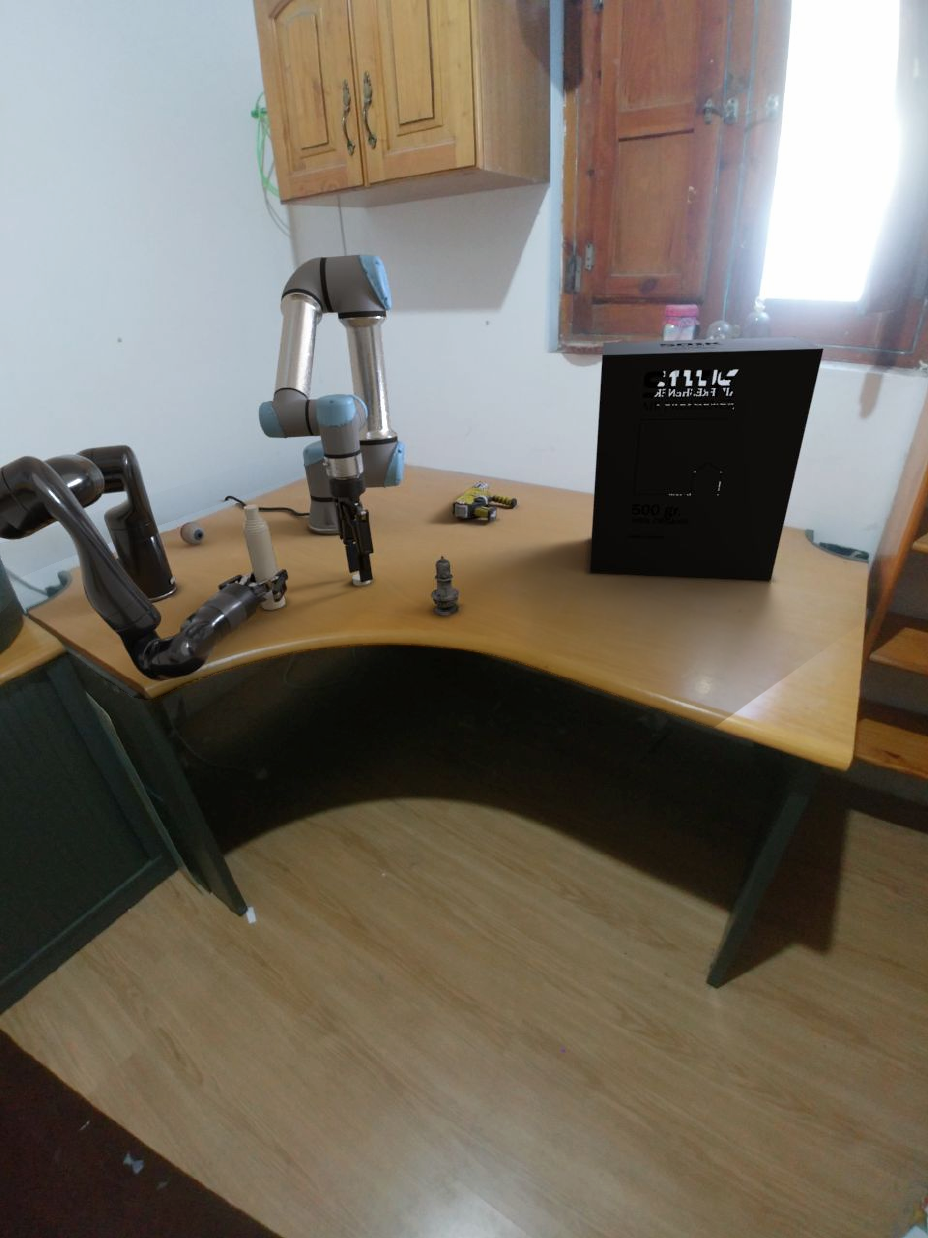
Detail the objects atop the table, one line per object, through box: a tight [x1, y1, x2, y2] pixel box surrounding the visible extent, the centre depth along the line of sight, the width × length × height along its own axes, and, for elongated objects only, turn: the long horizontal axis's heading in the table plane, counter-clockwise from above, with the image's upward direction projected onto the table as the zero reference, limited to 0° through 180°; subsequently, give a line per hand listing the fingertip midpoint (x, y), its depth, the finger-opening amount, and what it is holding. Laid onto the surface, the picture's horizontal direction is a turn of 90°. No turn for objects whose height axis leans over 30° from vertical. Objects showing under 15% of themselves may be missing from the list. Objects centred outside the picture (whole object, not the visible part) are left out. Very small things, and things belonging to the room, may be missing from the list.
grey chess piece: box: [430, 555, 461, 616], centre depth 121 cm, size 6×6×12 cm
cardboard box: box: [589, 336, 824, 581], centre depth 128 cm, size 38×20×45 cm, turn 78°
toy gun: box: [451, 480, 518, 523], centre depth 174 cm, size 5×24×15 cm
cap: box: [352, 572, 371, 587], centre depth 137 cm, size 4×4×2 cm
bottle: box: [242, 503, 287, 611], centre depth 124 cm, size 5×5×22 cm
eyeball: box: [179, 521, 206, 546], centre depth 161 cm, size 6×6×6 cm
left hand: (273, 572), depth 129 cm, fingers closed on bottle, 5 cm apart
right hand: (360, 575), depth 136 cm, fingers open, 5 cm apart
